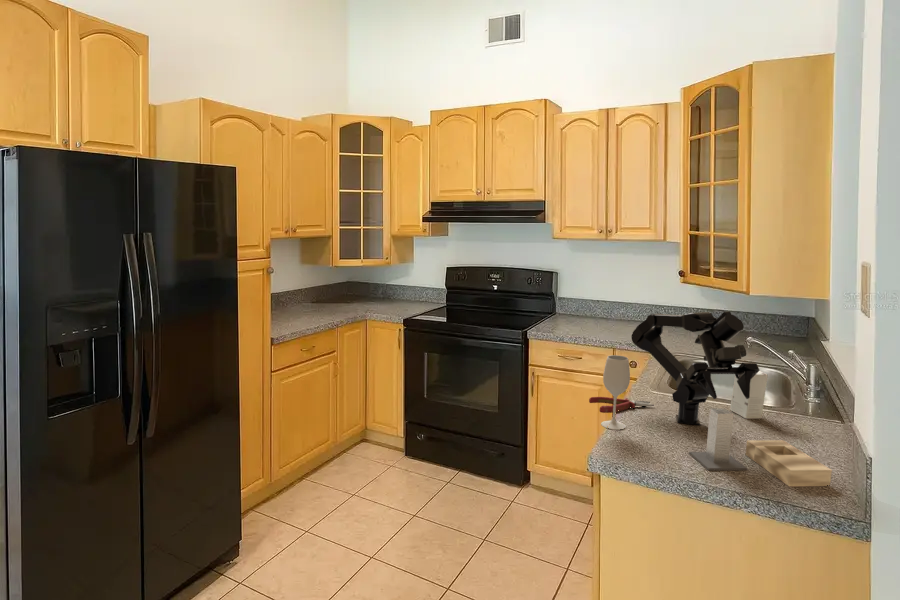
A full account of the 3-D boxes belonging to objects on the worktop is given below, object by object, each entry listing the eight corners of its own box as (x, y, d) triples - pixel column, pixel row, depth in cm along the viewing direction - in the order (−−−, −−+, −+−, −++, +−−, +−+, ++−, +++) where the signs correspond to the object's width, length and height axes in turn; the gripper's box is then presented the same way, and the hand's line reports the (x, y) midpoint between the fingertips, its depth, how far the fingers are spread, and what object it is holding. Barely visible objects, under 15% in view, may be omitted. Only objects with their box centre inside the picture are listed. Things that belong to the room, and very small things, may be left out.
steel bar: (705, 456, 149) (710, 408, 147) (720, 456, 149) (725, 408, 147) (713, 462, 145) (718, 413, 143) (728, 462, 145) (733, 413, 143)
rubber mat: (689, 453, 152) (689, 451, 152) (725, 453, 152) (725, 451, 152) (708, 470, 142) (708, 468, 142) (746, 470, 143) (747, 467, 142)
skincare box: (729, 410, 187) (733, 366, 185) (746, 409, 188) (750, 366, 186) (746, 419, 179) (751, 373, 177) (763, 418, 180) (768, 373, 178)
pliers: (660, 413, 185) (660, 405, 185) (600, 414, 183) (601, 406, 182) (644, 402, 196) (644, 394, 196) (587, 403, 194) (588, 395, 193)
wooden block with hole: (745, 454, 152) (747, 440, 151) (781, 454, 153) (783, 440, 152) (789, 486, 134) (791, 470, 134) (829, 486, 135) (831, 470, 134)
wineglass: (600, 419, 176) (604, 353, 173) (626, 422, 174) (631, 355, 171) (599, 428, 169) (604, 359, 166) (626, 431, 167) (631, 361, 164)
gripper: (694, 334, 158) (711, 384, 149) (759, 334, 159) (779, 384, 150) (679, 355, 167) (694, 403, 158) (740, 355, 168) (759, 403, 159)
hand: (731, 398), depth 156 cm, fingers open, 9 cm apart
